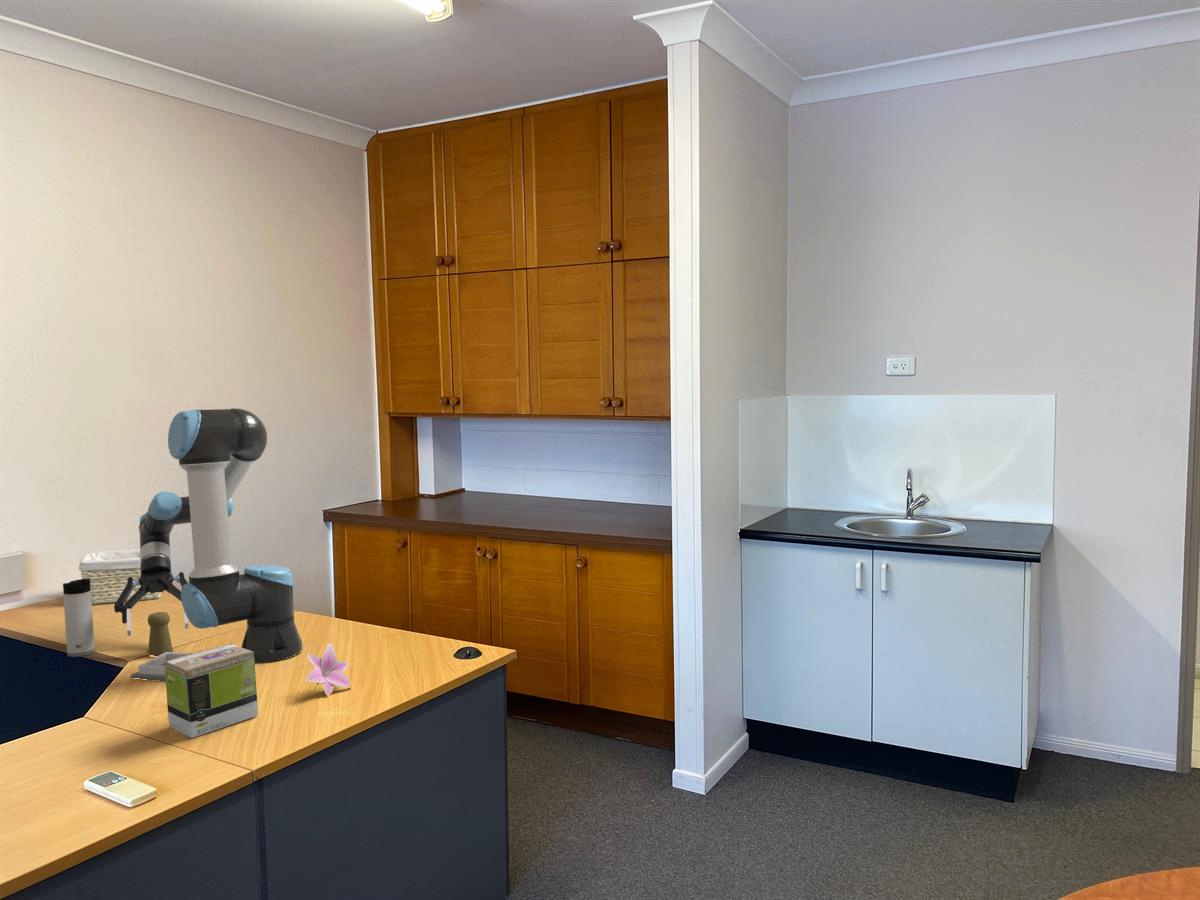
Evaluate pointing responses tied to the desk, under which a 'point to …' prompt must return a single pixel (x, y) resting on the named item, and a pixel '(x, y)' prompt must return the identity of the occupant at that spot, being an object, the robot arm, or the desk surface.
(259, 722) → the desk surface
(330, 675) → the lily
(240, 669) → the tea box
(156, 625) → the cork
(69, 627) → the travel mug
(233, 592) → the robot arm
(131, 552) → the storage basket
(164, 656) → the grey square tray
